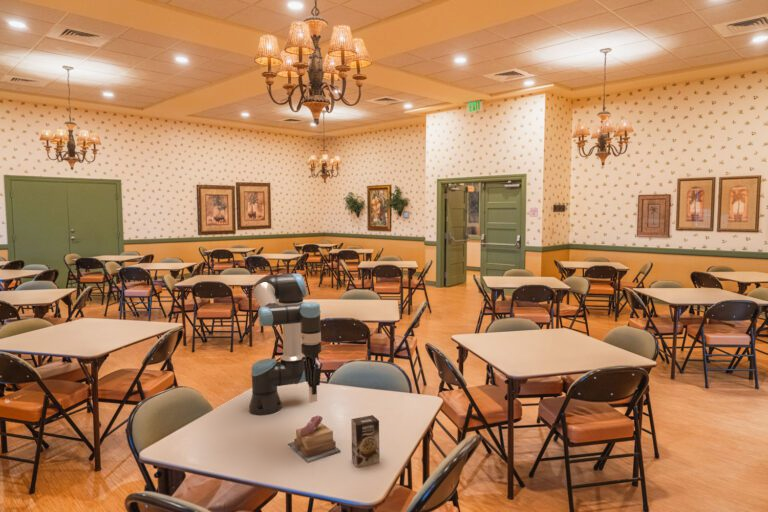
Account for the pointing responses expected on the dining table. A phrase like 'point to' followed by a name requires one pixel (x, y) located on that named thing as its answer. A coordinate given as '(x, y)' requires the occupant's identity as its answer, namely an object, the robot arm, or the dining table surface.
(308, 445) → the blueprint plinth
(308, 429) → the video game controller
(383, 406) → the dining table surface
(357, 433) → the coffee box
